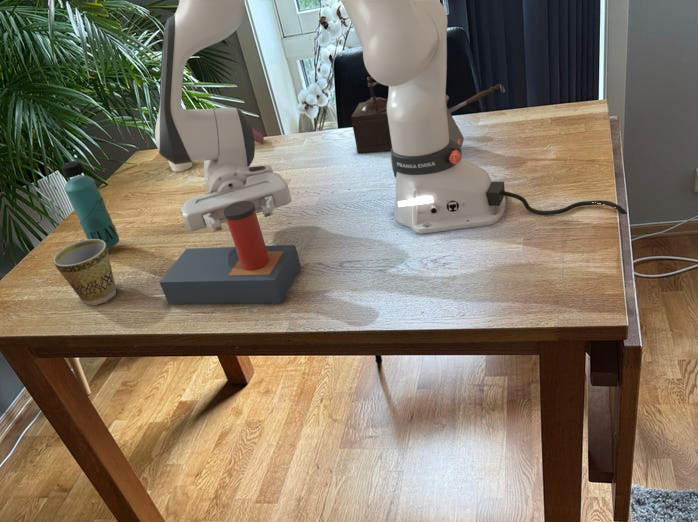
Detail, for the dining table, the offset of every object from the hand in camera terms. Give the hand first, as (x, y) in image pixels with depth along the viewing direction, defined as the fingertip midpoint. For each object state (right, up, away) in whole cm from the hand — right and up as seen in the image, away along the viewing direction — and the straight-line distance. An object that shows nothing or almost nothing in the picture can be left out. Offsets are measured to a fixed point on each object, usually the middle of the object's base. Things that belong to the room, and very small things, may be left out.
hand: (242, 219), depth 125 cm
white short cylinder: (-27, +26, +61) cm, 72 cm away
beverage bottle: (-35, -1, +29) cm, 45 cm away
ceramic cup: (-31, -12, +14) cm, 36 cm away
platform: (-3, -11, +7) cm, 13 cm away
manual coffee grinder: (+27, +31, +52) cm, 66 cm away
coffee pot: (+44, +23, +38) cm, 63 cm away
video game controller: (-11, +34, +66) cm, 75 cm away
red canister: (+2, -8, +2) cm, 8 cm away
